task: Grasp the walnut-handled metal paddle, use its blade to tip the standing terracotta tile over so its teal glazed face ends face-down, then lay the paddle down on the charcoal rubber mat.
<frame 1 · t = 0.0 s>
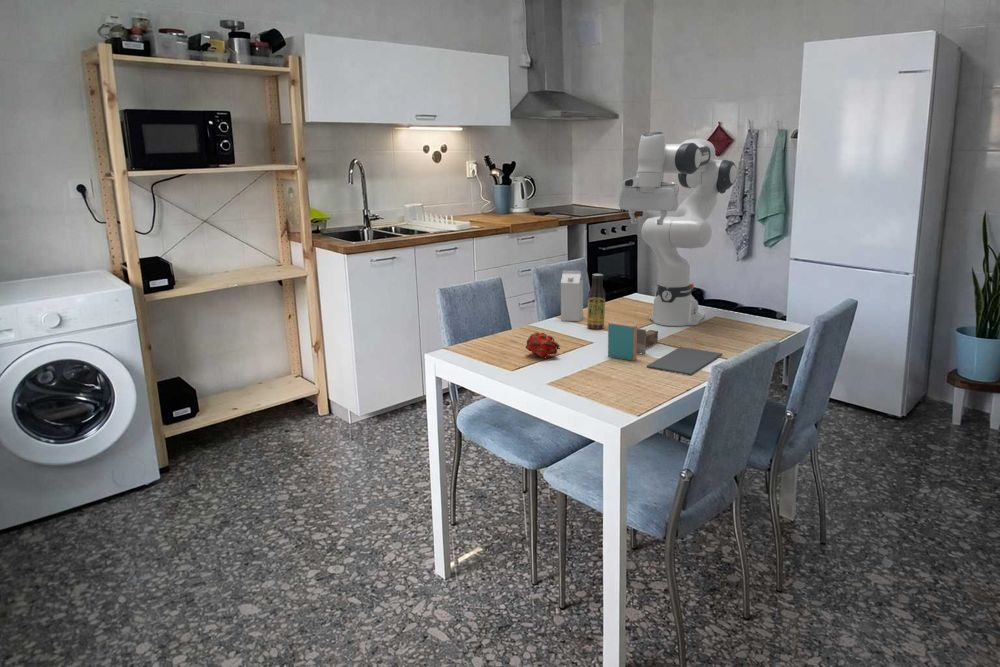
hand: (646, 224, 236), 39 cm above the table, tool pointing down, fingers open, 8 cm apart
sauce bottle: (596, 328, 259), on the table
paddle: (634, 351, 228), on the table
dragon fruit: (543, 356, 226), on the table
tile: (622, 357, 222), on the table
milk carton: (572, 319, 272), on the table
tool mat: (685, 361, 216), on the table
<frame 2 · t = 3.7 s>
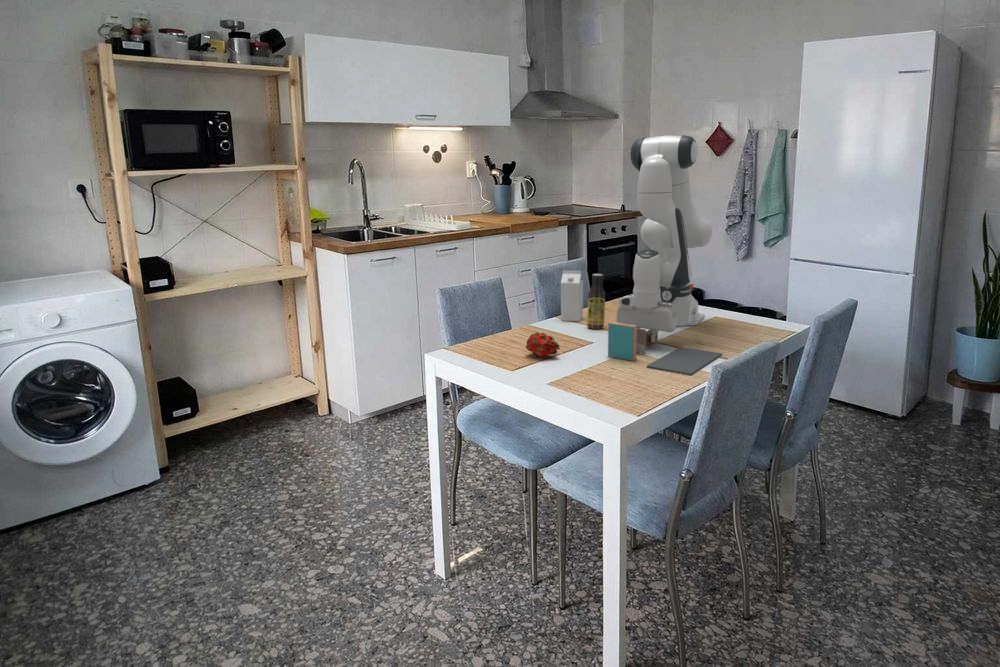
hand: (645, 341, 234), 2 cm above the table, tool pointing down, fingers closed on paddle, 3 cm apart
paddle: (634, 351, 228), on the table, touching gripper
everything else where it was.
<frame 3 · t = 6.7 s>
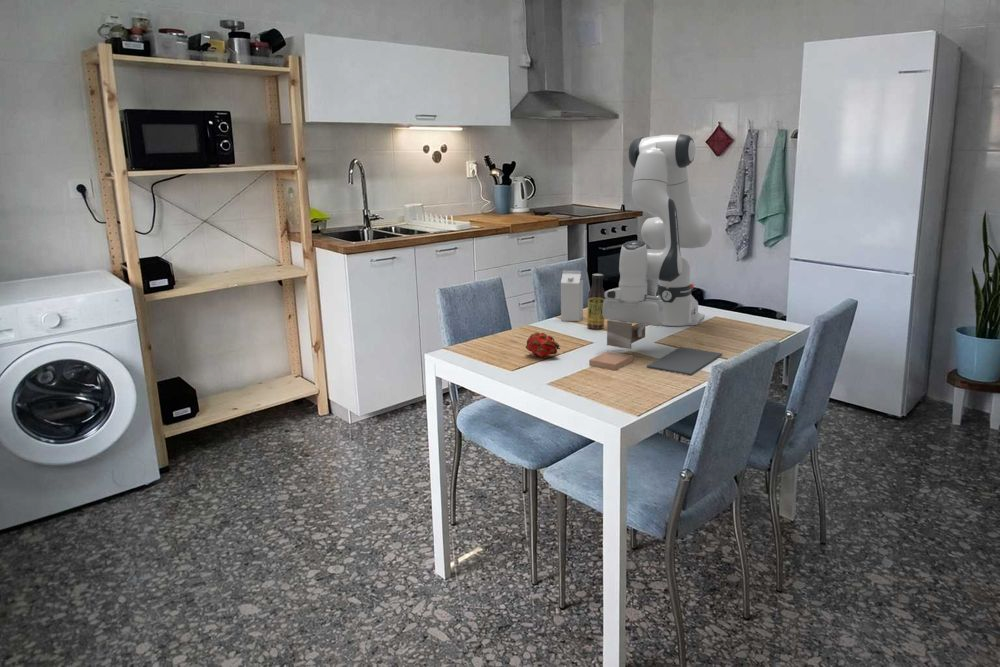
hand: (632, 335, 225), 6 cm above the table, tool pointing down, fingers closed on paddle, 3 cm apart
paddle: (619, 346, 220), point 4 cm above the table, touching gripper
tile: (619, 356, 221), point 1 cm above the table, tilted 90°
everything else where it was.
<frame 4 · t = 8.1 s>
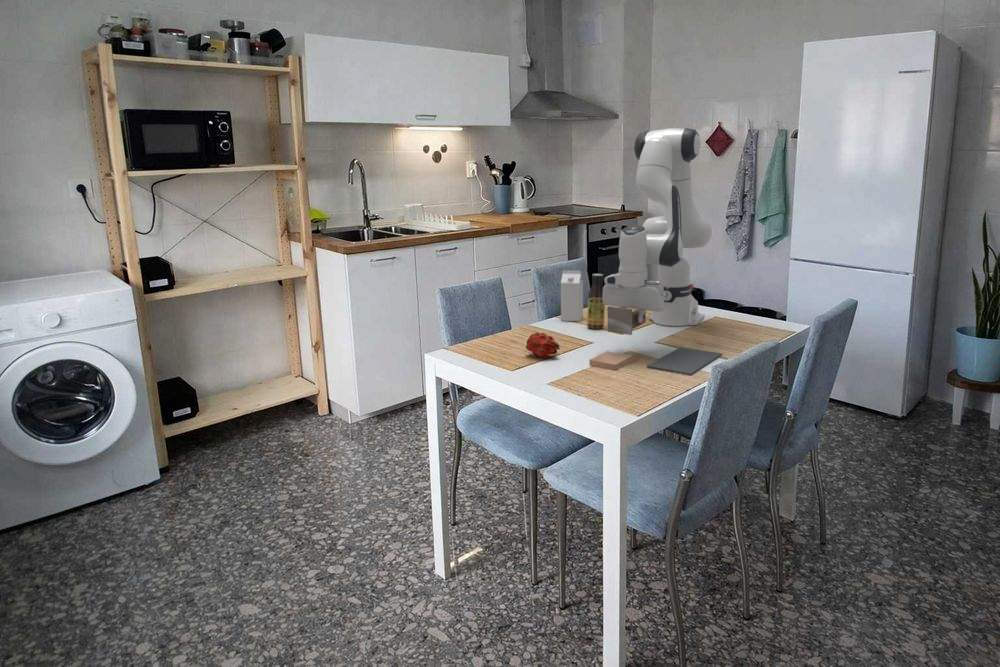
hand: (632, 321, 224), 10 cm above the table, tool pointing down, fingers closed on paddle, 3 cm apart
paddle: (620, 332, 219), point 9 cm above the table, touching gripper
everything else where it was.
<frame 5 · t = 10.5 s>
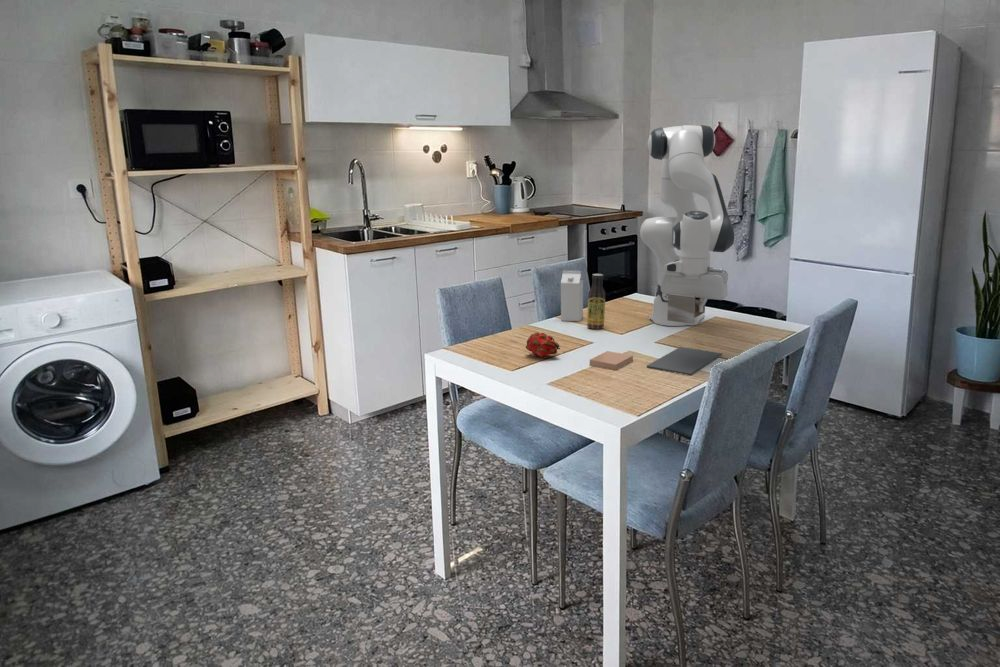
hand: (692, 310, 215), 15 cm above the table, tool pointing down, fingers closed on paddle, 3 cm apart
paddle: (681, 321, 210), point 14 cm above the table, touching gripper
everything else where it was.
when the fingers open (4 cm above the table, at t = 12.6 s): paddle drops 2 cm, resting on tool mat.
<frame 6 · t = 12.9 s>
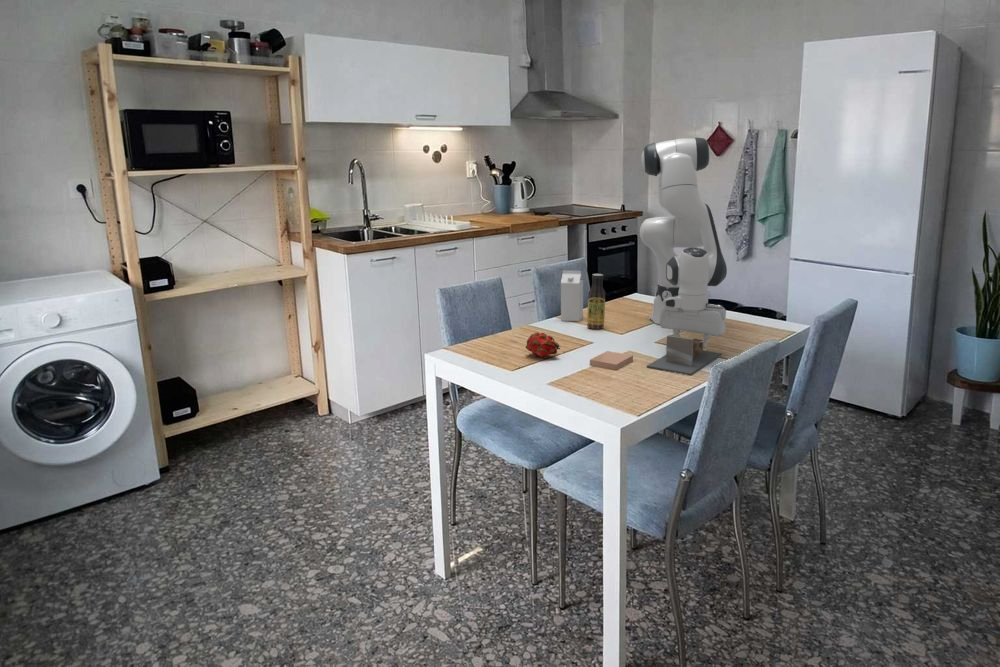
hand: (691, 345, 218), 4 cm above the table, tool pointing down, fingers open, 6 cm apart
paddle: (679, 362, 213), point 1 cm above the table, touching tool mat
everything else where it was.
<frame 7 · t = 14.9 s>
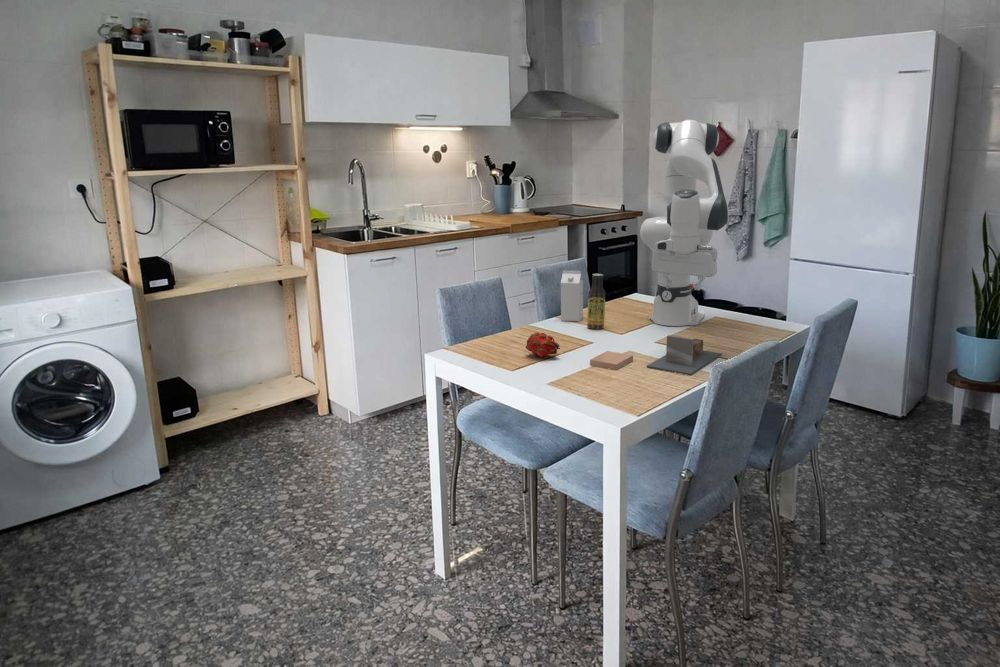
hand: (683, 288, 220), 21 cm above the table, tool pointing down, fingers open, 8 cm apart
nothing on the table moved.
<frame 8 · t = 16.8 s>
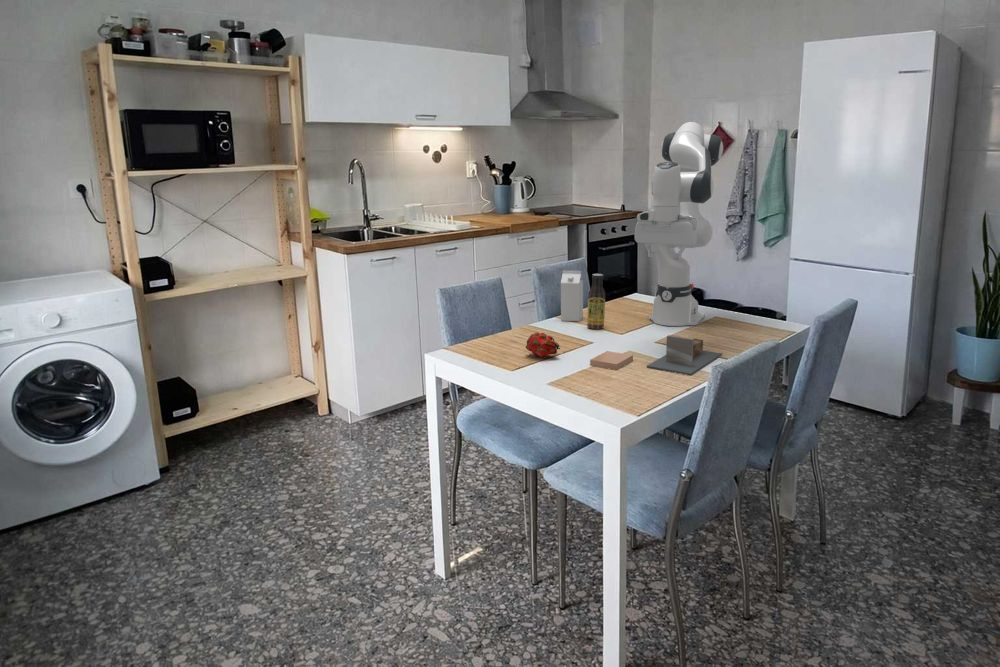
hand: (664, 258, 227), 29 cm above the table, tool pointing down, fingers open, 8 cm apart
nothing on the table moved.
at the end: tile tilted 90°; paddle inside the target area (0.1 cm from its centre), point 0.6 cm above the table; the gripper is holding nothing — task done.
